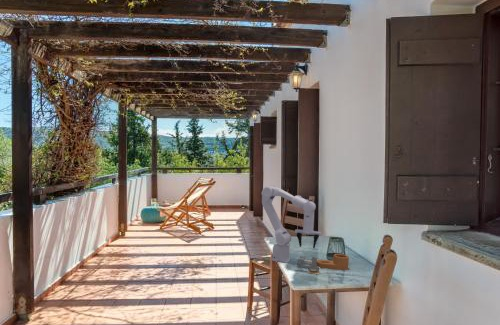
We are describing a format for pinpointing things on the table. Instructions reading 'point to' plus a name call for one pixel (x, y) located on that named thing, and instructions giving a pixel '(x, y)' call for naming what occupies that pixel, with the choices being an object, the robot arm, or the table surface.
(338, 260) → the bracket
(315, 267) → the slotted grey block
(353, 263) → the table surface
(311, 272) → the pad
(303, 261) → the vise
